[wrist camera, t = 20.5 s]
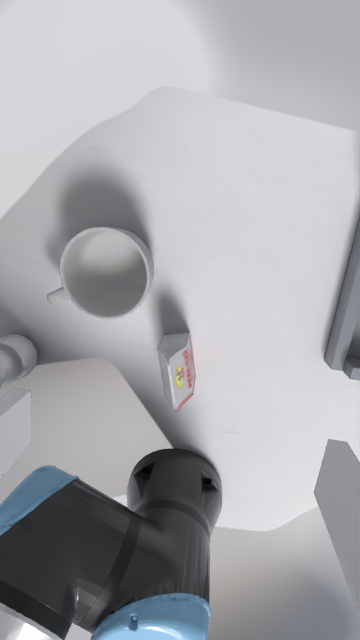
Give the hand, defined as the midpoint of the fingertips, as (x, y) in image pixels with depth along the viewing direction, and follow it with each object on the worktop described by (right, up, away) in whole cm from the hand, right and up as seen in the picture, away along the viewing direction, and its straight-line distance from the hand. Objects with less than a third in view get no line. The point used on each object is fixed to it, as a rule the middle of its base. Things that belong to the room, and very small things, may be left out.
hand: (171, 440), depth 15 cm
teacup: (-9, +12, +32) cm, 36 cm away
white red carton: (0, 0, +34) cm, 34 cm away
